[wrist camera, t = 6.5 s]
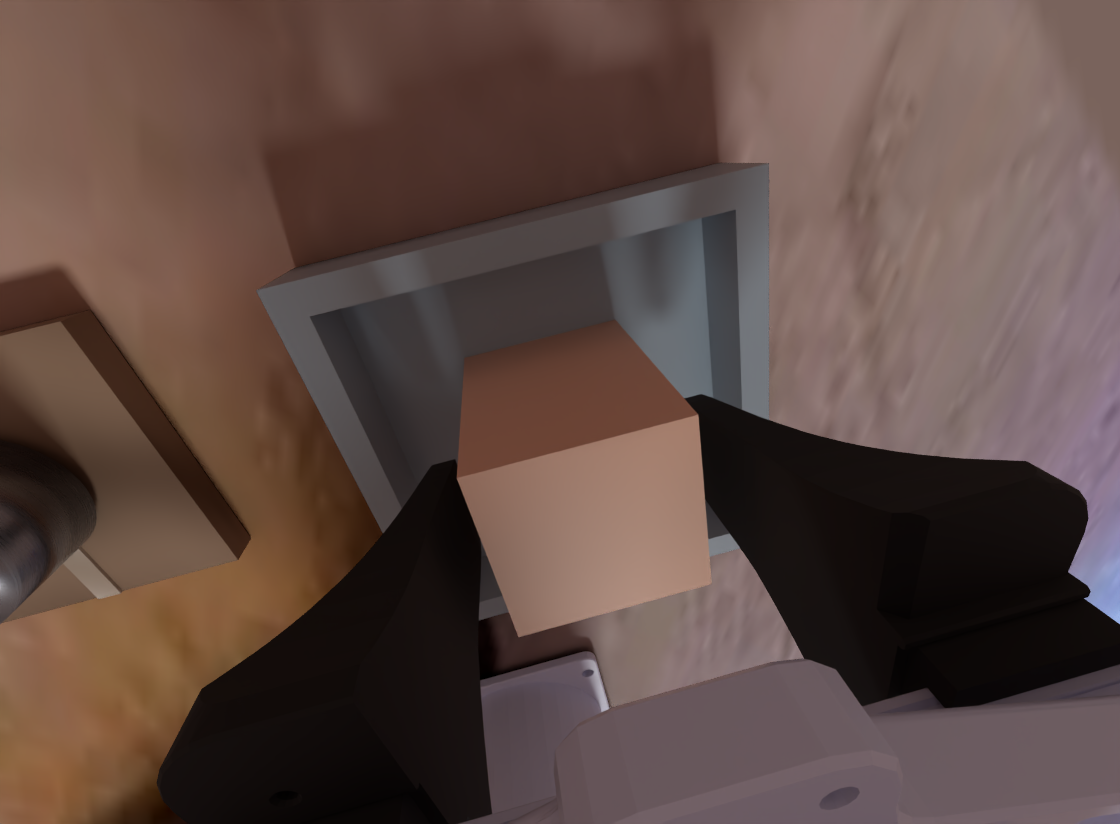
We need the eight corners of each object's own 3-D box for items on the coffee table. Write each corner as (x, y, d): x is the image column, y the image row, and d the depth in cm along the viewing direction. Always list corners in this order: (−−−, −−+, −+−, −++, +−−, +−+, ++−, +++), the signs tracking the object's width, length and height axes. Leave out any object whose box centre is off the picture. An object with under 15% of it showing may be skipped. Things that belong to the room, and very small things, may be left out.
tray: (734, 495, 19) (768, 540, 16) (439, 575, 18) (434, 632, 16) (719, 162, 13) (768, 163, 11) (294, 268, 13) (256, 290, 10)
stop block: (635, 446, 16) (711, 583, 11) (504, 480, 16) (518, 636, 11) (615, 319, 14) (698, 414, 9) (464, 357, 14) (456, 478, 9)
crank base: (251, 538, 16) (236, 562, 15) (10, 602, 16) (-20, 630, 15) (89, 309, 12) (57, 322, 11) (-231, 389, 12) (-293, 409, 11)
